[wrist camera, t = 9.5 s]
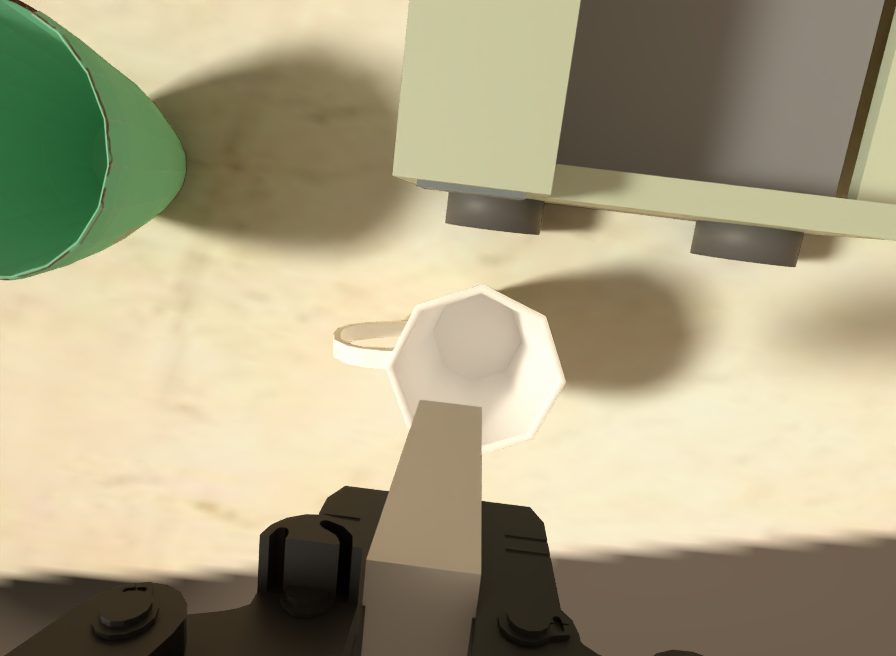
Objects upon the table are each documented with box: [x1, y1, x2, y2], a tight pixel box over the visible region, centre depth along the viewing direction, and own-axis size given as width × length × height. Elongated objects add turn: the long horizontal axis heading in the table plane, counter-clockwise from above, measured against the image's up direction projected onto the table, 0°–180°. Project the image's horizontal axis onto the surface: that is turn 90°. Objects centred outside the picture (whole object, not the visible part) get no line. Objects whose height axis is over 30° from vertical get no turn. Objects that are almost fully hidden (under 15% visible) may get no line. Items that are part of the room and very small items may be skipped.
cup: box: [333, 284, 566, 454], centre depth 26 cm, size 7×10×8 cm
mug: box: [0, 0, 186, 280], centre depth 25 cm, size 15×10×10 cm
